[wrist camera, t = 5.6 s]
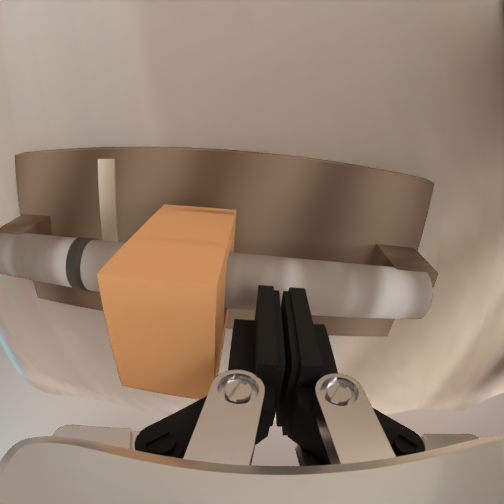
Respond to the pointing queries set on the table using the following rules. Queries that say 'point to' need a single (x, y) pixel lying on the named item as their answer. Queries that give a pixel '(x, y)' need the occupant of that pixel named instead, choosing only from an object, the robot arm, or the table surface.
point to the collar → (170, 300)
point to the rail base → (246, 229)
